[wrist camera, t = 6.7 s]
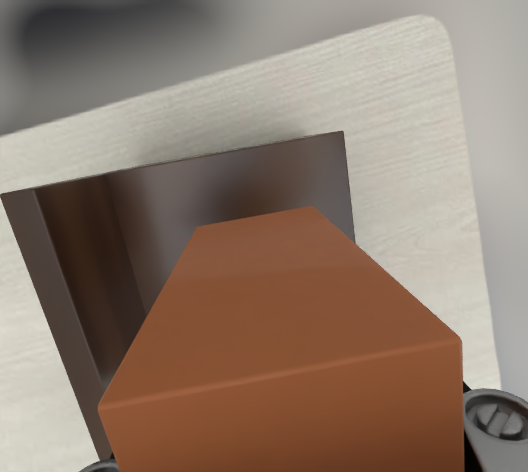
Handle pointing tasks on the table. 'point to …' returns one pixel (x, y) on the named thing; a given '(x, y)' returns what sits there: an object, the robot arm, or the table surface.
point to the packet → (286, 361)
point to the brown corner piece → (152, 240)
